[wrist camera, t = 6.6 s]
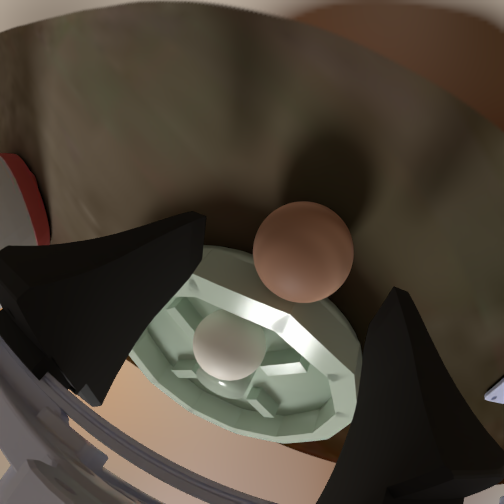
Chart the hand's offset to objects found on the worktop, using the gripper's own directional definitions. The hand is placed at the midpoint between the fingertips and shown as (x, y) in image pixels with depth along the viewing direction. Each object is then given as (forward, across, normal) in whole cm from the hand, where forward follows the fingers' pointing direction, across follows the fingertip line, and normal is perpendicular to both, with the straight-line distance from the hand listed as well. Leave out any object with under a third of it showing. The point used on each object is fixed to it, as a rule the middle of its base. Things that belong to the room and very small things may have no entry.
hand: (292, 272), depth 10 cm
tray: (+3, +2, +12) cm, 12 cm away
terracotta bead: (+3, 0, 0) cm, 4 cm away
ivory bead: (+3, +2, +7) cm, 8 cm away
